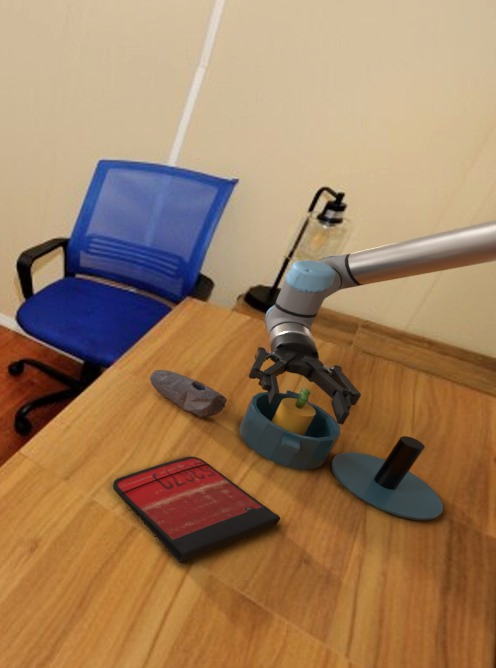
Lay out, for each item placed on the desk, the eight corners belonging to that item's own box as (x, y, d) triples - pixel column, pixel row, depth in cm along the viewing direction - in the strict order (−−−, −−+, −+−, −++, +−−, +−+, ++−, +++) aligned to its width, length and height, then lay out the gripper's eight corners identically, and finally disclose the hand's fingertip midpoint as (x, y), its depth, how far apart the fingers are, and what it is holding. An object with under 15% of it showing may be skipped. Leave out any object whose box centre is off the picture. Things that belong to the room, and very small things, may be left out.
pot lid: (432, 481, 93) (465, 436, 87) (447, 538, 82) (485, 492, 77) (329, 445, 101) (353, 402, 96) (330, 492, 91) (358, 447, 86)
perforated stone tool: (140, 388, 117) (148, 363, 114) (154, 380, 119) (162, 357, 116) (206, 428, 105) (217, 402, 102) (221, 419, 107) (232, 394, 104)
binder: (281, 516, 84) (184, 555, 78) (277, 526, 85) (180, 565, 79) (196, 450, 98) (107, 479, 92) (193, 459, 99) (105, 488, 93)
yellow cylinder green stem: (297, 439, 101) (324, 387, 95) (297, 455, 98) (325, 402, 92) (265, 428, 104) (290, 377, 98) (264, 442, 101) (289, 391, 95)
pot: (323, 431, 104) (338, 403, 101) (324, 491, 91) (342, 461, 88) (243, 403, 112) (255, 376, 108) (234, 455, 99) (247, 427, 95)
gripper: (351, 377, 106) (378, 446, 89) (226, 346, 116) (229, 403, 99) (367, 348, 102) (399, 414, 85) (237, 319, 113) (242, 373, 96)
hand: (308, 408), depth 92 cm, fingers open, 9 cm apart
